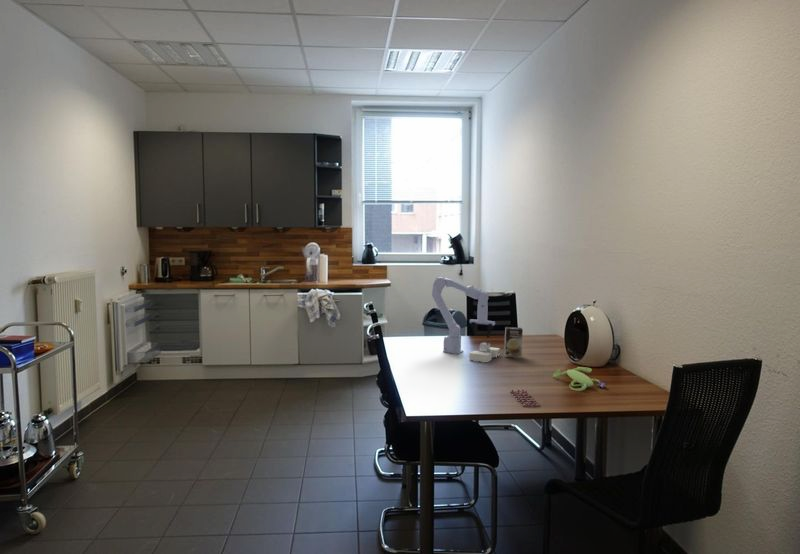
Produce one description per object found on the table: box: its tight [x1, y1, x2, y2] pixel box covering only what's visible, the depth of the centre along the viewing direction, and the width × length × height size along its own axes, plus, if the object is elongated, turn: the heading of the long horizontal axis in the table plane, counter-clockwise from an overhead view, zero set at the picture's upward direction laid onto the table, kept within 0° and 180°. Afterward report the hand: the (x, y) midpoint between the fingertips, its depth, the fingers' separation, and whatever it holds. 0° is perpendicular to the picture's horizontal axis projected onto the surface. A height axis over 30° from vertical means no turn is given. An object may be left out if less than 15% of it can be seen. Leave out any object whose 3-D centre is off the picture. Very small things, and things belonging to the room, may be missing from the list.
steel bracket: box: [479, 341, 491, 353], centre depth 302 cm, size 4×5×8 cm
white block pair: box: [469, 346, 501, 363], centre depth 302 cm, size 10×20×4 cm, turn 150°
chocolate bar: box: [509, 389, 542, 407], centre depth 229 cm, size 7×19×2 cm, turn 5°
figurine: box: [551, 366, 606, 392], centre depth 255 cm, size 18×27×6 cm
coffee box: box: [503, 326, 524, 359], centre depth 305 cm, size 9×6×16 cm
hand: (481, 336), depth 313 cm, fingers open, 7 cm apart
